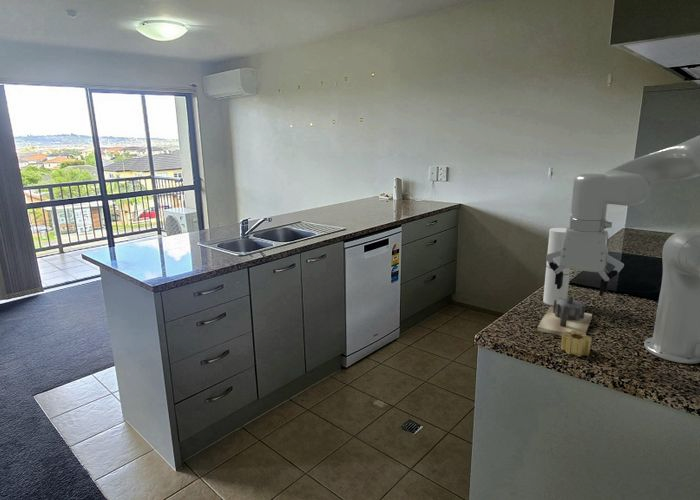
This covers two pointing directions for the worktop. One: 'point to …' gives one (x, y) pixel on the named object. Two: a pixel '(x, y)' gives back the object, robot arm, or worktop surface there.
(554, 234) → the cylindrical container
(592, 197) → the robot arm
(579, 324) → the gear board
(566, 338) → the brass gear
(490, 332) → the worktop surface
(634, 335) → the worktop surface
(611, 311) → the worktop surface
